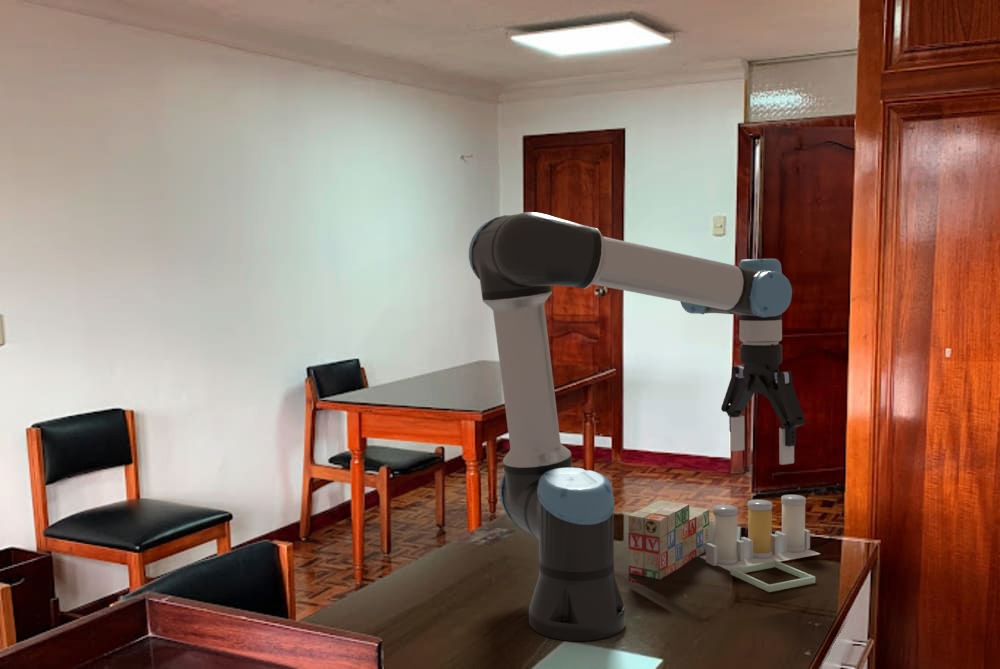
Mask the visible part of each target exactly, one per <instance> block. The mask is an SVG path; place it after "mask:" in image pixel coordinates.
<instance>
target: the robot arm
mask: <svg viewBox="0 0 1000 669" xmlns="http://www.w3.org/2000/svg"><path fill="white" fill-rule="evenodd" d="M468 261H469V265H470V267H471V270H472V271H473V273H474V275H475V276H476V278H477V279H479V284H480V292H481V298H482V302H483V303H484V304H485V305H487V306H488V307H489V308H490V309H491V311H492V313H493V320H494V327H495V328H494V329H495V338H496V345H497V351H498V360H499V368H500V377H501V383H502V392H503V401H504V408H505V417H506V425H507V432H508V439H509V440H508V442H509V447H510V448H509V451H508V452H507V454H505V456H504V457H503V459H502V464H503V471H504V472H503V473H504V474H503V476H502V477H501V479H500V483H499V489H498V490H499V491H498V492H499V496H498V497H499V500H500V504H501V507H502V509H503V511H504V513H505V514H506V516H508V518H509V519H510V520H511V522H512V523H513V524H514V525H515V526H517V527H519V528H520V529H522V530H524V531H526V532H527V533H529V534H530V535H531V536H533V537H535V538H536V539H537V540H538V555H539V556H538V557H539V558H538V561H539V566H538V567H539V568H538V569H539V570H538V571H539V573H538V574H539V575H538V577H537V578H538V579H537V581H536V585H535V588H534V591H533V594H532V598H531V601H530V604H529V606H528V624H529V626H530V627H531V628H532V629H533V630H534V631H535V632H536V633H538V634H541V635H543V636H545V637H547V638H552V639H555V640H563V641H572V642H574V641H575V642H577V641H578V642H580V641H581V642H582V641H583V642H585V641H596V640H601V639H606V638H609V637H612V636H615V635H617V634H618V633H620V632H621V631H623V630H624V628H625V627H626V608H625V604H624V602H623V598H622V596H621V592H620V590H619V587H618V584H617V581H616V578H615V577H616V576H615V574H614V573H615V568H614V567H615V566H614V562H615V561H614V558H615V554H614V552H615V551H614V550H615V549H614V548H615V547H614V546H615V544H614V540H615V539H614V538H615V537H614V530H615V529H614V526H615V525H614V524H615V522H614V521H615V520H614V515H615V514H614V513H615V512H614V510H615V499H614V492H613V486H612V484H611V482H610V480H609V479H608V478H607V477H606V476H604V475H603V474H601V473H599V472H596V471H594V470H589V469H588V470H585V469H584V468H580V467H574V466H573V461H572V460H573V458H572V452H571V450H570V449H568V447H566V446H565V445H563V444H562V442H561V437H560V436H561V435H560V434H561V433H560V428H559V427H560V426H559V417H558V411H557V402H556V394H555V386H554V377H553V376H554V375H553V367H552V360H551V359H552V358H551V352H550V343H549V335H548V334H549V332H548V325H547V317H546V307H545V304H546V301H547V300H548V299H549V297H550V296H551V295H552V294H553V291H552V287H555V286H556V287H570V288H577V289H582V290H586V289H588V288H590V287H591V286H592V285H595V286H599V287H600V286H601V287H605V288H610V289H615V290H621V291H626V292H630V293H636V294H641V295H645V296H651V297H656V298H661V299H666V300H672V301H675V302H680V305H681V307H682V308H683V309H684V311H685V312H687V313H689V314H694V315H695V314H700V315H705V314H721V315H723V314H724V315H737V316H739V329H738V330H739V331H738V332H739V333H738V334H739V338H738V340H739V341H740V342H742V343H741V344H740V346H739V362H740V364H742V365H734V366H733V365H732V367H731V376H730V380H729V384H728V387H727V388H726V392H725V396H724V398H723V401H722V405H721V412H723V413H726V414H727V416H728V418H729V419H728V420H729V421H728V422H729V423H728V424H729V433H730V452H739V451H745V446H746V445H745V416H744V414H745V413H744V410H745V409H746V408H747V406H748V404H749V402H750V400H751V399H752V398H753V396H754V394H757V393H758V394H759V395H764V397H766V399H767V400H768V401H769V403H770V405H771V407H772V408H773V410H774V412H775V415H776V417H777V418H778V420H779V421H780V423H781V426H780V427H779V428H778V431H779V432H778V437H779V438H778V439H779V440H778V443H779V445H778V446H779V449H778V450H779V451H778V452H779V453H778V454H779V455H778V456H779V460H778V461H779V463H778V464H779V465H782V466H783V465H790V464H794V463H795V446H796V444H797V428H798V427H801V426H805V425H806V420H805V417H804V413H803V411H802V408H801V405H800V402H799V399H798V396H797V393H796V390H795V387H794V384H793V382H794V381H793V373H792V371H781V372H780V370H779V365H781V364H782V363H783V345H782V344H781V343H779V342H781V341H782V340H783V320H782V319H783V313H784V312H786V311H787V309H788V308H789V306H790V305H791V302H792V298H793V297H792V295H793V290H792V284H791V283H790V280H789V279H788V277H786V276H785V275H784V274H783V273H782V264H781V262H780V260H779V259H777V258H758V259H757V258H755V259H753V258H751V259H748V258H747V259H741V260H739V261H740V262H739V264H738V266H737V265H735V264H730V263H725V262H720V261H716V260H712V259H707V258H703V257H698V256H693V255H688V254H684V253H680V252H676V251H675V252H674V251H670V250H665V249H661V248H657V247H653V246H652V247H651V246H648V245H644V244H639V243H635V242H629V241H625V240H620V239H616V238H612V237H611V238H610V237H608V236H604V235H603V234H602V233H601V231H600V230H599V229H598V228H596V227H592V226H588V225H583V224H580V223H577V222H573V221H570V220H566V219H562V218H560V217H555V216H552V215H549V214H545V213H541V212H533V211H527V212H522V213H521V212H520V213H518V214H517V213H516V214H511V215H507V214H506V215H502V216H501V215H500V216H496V217H494V218H492V219H490V220H489V221H487V222H485V223H483V224H482V225H480V227H479V228H478V229H477V230H476V232H475V233H474V235H473V236H472V238H471V241H470V243H469V247H468Z"/></svg>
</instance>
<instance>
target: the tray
mask: <svg viewBox="0 0 1000 669" xmlns="http://www.w3.org/2000/svg"><path fill="white" fill-rule="evenodd" d="M772 568H777V569H779V570H781V571H783V572H785V573H788V574H791V575H793V576H795V577H797V578H795V579H791V580H787V581H785V580H784V581H782V582H775V583H771V584H769V583H766V582H765V581H762V580H760V579H757V578H756V577H753V576H751V575H749V574H747V573H750V572H758V571H762V570H766V569H772ZM729 572H730V575H731V576H733V577H735V578H737V579H740V580H742V581H744V582H746V583H748V584H750V585H752V586H755V587H757V588H759V589H761V590H763V591H765V592H768V593H771V592H772V593H773V592H777V591H782V590H786V589H787V590H788V589H791V588H797V587H802V586H806V585H812V584H816V576H815V575H812V574H810V573H807V572H805V571H802V570H800V569H797V568H795V567H792V566H791V565H788V564H785V563H783V562H782V561H781V562H778V561H776V560H774V561H768V562H763V563H757V564H752V565H747V566H741V567H736V568H730V571H729Z"/></svg>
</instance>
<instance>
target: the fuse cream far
mask: <svg viewBox="0 0 1000 669" xmlns="http://www.w3.org/2000/svg"><path fill="white" fill-rule="evenodd" d="M806 500H807V499H806V497H805V496H803V495H800V494H799V495H798V494H784V495H782V496H781V533H784V534H787V552H792V553H801V552H804V551H805V529H806V504H807V502H806Z"/></svg>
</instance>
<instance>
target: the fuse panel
mask: <svg viewBox="0 0 1000 669" xmlns="http://www.w3.org/2000/svg"><path fill="white" fill-rule="evenodd" d="M771 550H772V557H771V558H768V559H757V558H753V540H751V539H748V537H745V536H741V537H740V539H738V538H737V564H734V565H720V564H718V546H715V545H713V543H711V542H710V543H706V551H705V554H704V555H699V556H698V557H699V558H701V559H703V560H705V563H707V564H709V565H711V566H712V567H716V566H718V567H720V568H723V569H725V570H726V571H729V572H730V568H736V567H741V566H747V565H752V564H757V563H763V562H768V561H774V560H776V561H778V562H781V563H782V562H785V561H790V560H791V561H792V560H796V559H801V558H806V557H812V556H819V555H820V552H817V551H815V550H811V530H810V529H806V528H805V551H804V552H801V553H792V552H787V534H784V533H782V531H774V533H772V545H771Z"/></svg>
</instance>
